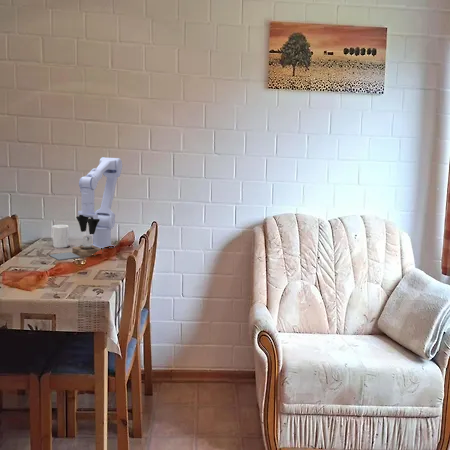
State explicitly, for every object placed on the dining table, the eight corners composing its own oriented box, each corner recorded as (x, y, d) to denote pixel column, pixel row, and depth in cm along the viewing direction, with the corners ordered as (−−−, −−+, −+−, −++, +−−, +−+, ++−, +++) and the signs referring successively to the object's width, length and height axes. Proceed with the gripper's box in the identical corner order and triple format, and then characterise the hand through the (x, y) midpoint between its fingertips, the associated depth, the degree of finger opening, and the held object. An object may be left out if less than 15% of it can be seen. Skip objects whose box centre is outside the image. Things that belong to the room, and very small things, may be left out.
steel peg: (81, 253, 247) (81, 236, 246) (89, 252, 250) (89, 235, 248) (85, 255, 244) (85, 237, 243) (93, 253, 247) (93, 236, 245)
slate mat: (49, 255, 240) (49, 254, 240) (70, 252, 247) (70, 252, 247) (58, 260, 233) (58, 259, 233) (80, 257, 240) (80, 256, 239)
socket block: (72, 252, 248) (72, 247, 247) (92, 250, 254) (92, 244, 254) (82, 257, 240) (82, 251, 240) (102, 254, 247) (102, 249, 246)
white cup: (51, 245, 261) (50, 224, 259) (67, 244, 265) (67, 224, 263) (53, 248, 254) (52, 227, 252) (70, 247, 258) (70, 227, 256)
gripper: (71, 201, 245) (71, 231, 247) (88, 205, 235) (87, 235, 237) (85, 201, 250) (85, 229, 252) (102, 204, 239) (102, 234, 242)
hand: (87, 232), depth 245 cm, fingers open, 7 cm apart
